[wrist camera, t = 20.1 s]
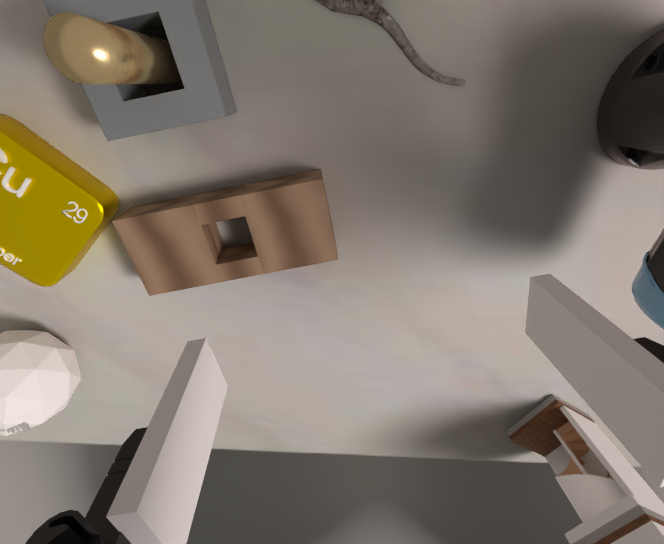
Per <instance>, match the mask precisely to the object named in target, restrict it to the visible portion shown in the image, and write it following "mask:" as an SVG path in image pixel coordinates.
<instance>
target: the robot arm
mask: <svg viewBox="0 0 664 544" xmlns="http://www.w3.org/2000/svg"><path fill="white" fill-rule="evenodd" d="M598 135H599V139H600V142H601V145H602V147H603V149H604V150H605V152H606V153H607V154H608V155H609V156H610V157H611V158H612V159H613V160H615V161H616V162H618V163H621V164H623V165H627V166H631V167H635V168H639V169H649V170H655V169H664V30H663V31H661V32H659V33H657V34H655V35H654V36H652V37H651V38H649V39H648V40H646V41H645V42H644V43H642V44H641V45H640V46H639V47H637V48H636V49H635V50H634V51H633V52H632V53H631V54H630V55H629V56H628V57H627V58H626V60H625V61H624V62H623V63H622V64H621V66H620V67H619V68H618V70H617V71H616V73H615V74H614V76H613V77H612V79H611V81H610V82H609V84H608V86H607V88H606V91H605V93H604V96H603V98H602V101H601V105H600V109H599V114H598ZM632 293H633V295H634V299H635V301H636V303H637V304H638V306H639V307H640V309H641V310H642V311H643V312H644V313H645V314H646V315H647V316H648V317H649V318H650V319H651V320H653V321H654V322H655V323H656V324H657V325H659V326H660V327H661V328H663V329H664V229H663V231H662V232H661V234H660V235H659V237H658V239H657V240H656V242H655V243H654V245H653V247H652V248H651V250H650V251H648V252H647V253H646V254H645V256H644V258H643V264H642V266H641V268H640V270H639V272H638V274H637V275H636V277H635V279H634V281H633V284H632ZM525 333H526V334H527V335H528V336H529V337H530V338H531V340H532V341H533V342H534V343H535V344H536V345H537V347H538V348H539V349H540V350H541V351H542V352H543V353H544V355H545V356H546V357H547V358H548V359H549V360H550V361H551V363H552V364H553V365H554V366H555V367H556V368H557V369H558V371H559V372H560V373H561V374H562V375H563V376H564V378H565V379H566V380H567V381H568V382H569V383H570V384H571V386H572V387H573V388H574V389H575V390H576V391H577V392H578V394H579V395H580V396H581V397H582V398H583V399H584V400H585V402H586V403H587V404H588V405H589V406H590V407H591V409H592V410H593V411H594V412H595V413H596V414H597V415H598V417H599V418H600V419H601V420H602V421H603V422H604V423H605V425H606V426H607V427H608V428H609V429H610V430H611V431H612V433H613V434H614V435H615V436H616V437H617V438H618V440H619V441H620V442H621V443H622V444H623V445H624V446H625V448H626V449H627V450H628V451H629V452H630V453H631V454H632V456H633V457H634V458H635V459H636V460H637V461H638V462H639V464H640V465H641V466H642V467H643V468H644V469H645V471H646V472H647V473H648V474H649V475H650V476H651V477H652V478H653V480H654V481H655V482H656V483H657V484H658V485H659V487H663V486H664V346H663V345H661V344H659V343H656V342H654V341H652V340H650V339H647V338H645V337H643V338H637V339H632V338H631V337H630V336H628V335H627V334H626V333H625V332H623V331H622V330H621V329H619V328H618V327H617V326H616V325H614V324H613V323H612V322H611V321H609V320H608V319H607V318H606V317H604V316H603V315H602V314H600V313H599V312H598V311H597V310H595V309H594V308H593V307H592V306H590V305H589V304H588V303H586V302H585V301H584V300H583V299H581V298H580V297H579V296H578V295H576V294H575V293H574V292H573V291H571V290H570V289H569V288H567V287H566V286H565V285H564V284H562V283H561V282H560V281H559V280H557V279H556V278H555V277H553V276H552V275H551V274H546V275H541V276H535V277H530V287H529V298H528V309H527V320H526V331H525ZM227 388H228V386H227V384H226V382H225V379H224V377H223V375H222V373H221V370H220V368H219V366H218V364H217V361H216V359H215V357H214V355H213V352H212V350H211V348H210V346H209V343H208V341H207V339H206V338H204V339H198V340H193V341H188V342H187V344H186V346H185V349H184V351H183V353H182V355H181V357H180V359H179V361H178V364H177V366H176V368H175V370H174V372H173V374H172V376H171V379H170V381H169V383H168V385H167V387H166V389H165V391H164V394H163V396H162V398H161V400H160V402H159V404H158V406H157V409H156V411H155V413H154V415H153V417H152V419H151V421H150V424H149V426H148V427H146V428H141V429H136V430H135V431H134V432H133V433H132V434H131V435H130V437H129V438H128V439H127V440H126V441H125V442H124V443H123V445H122V447H121V449H120V451H119V453H118V455H117V456H116V458H115V463H113V465H112V466H111V468H110V470H109V472H108V476H107V477H106V478H105V480H104V482H103V484H102V486H101V488H100V490H99V492H98V493H97V495H96V497H95V499H94V501H93V503H92V505H91V507H90V509H89V511H88V513H87V515H86V517H85V518H84V517H83V516H82V515H81V514H80V513H79V512H78V511H74V510H69V511H65V512H61V513H59V514H57V515H55V516H54V517H52V518H50V519H49V520H47V521H46V522H45V523H44V524H43V525H42V526H40V527H39V528H38V529H37V530H36V531H35V532H34V533H33V535H32V536H31V537H30V538H29V540H28V541H27V542H26V544H186V542H187V539H188V535H189V531H190V527H191V523H192V520H193V516H194V512H195V508H196V505H197V501H198V497H199V493H200V490H201V485H202V482H203V478H204V475H205V471H206V467H207V463H208V459H209V456H210V451H211V448H212V444H213V441H214V437H215V433H216V429H217V425H218V422H219V418H220V414H221V410H222V407H223V403H224V399H225V395H226V391H227Z"/></svg>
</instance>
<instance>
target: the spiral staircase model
mask: <svg viewBox="0 0 664 544" xmlns="http://www.w3.org/2000/svg"><path fill="white" fill-rule="evenodd" d="M506 432H507V434H508V436H509V437H510V439H511V441H513V442H515V443H517V444H519V445H521V446H524V447H526V448H528V449H530V450H532V451H534V452H536V453H538V454H540V455H542V456H544V457H545V458H546V459H547V461H548V462H549V464H550V466H551V467H552V469H553V470H554V472H555V473H556V475H557V476H556V477H555V478H556V480H557V481H558V483H559V484H560V486H561V487H562V489H563V491H564V492H565V494H566V495H567V497H568V499H569V500H570V502H571V504H572V505H573V507H574V508H575V510H576V512H577V513H578V515H579V516H580V518H581V519H582V521H583V522H584V523H582V524H580V525H579V526H577V527H576V528H574V529H572V530H571V531H569V532H568V533H566V534H565V536H566V538H567V539H568V541H569V543H570V544H664V504H663V503H662V502H661V500H660V499H659V498H658V497H657V496H656V494H655V493H654V492H653V491H652V490H651V488H650V487H649V486H648V485H647V484H646V483H645V481H644V480H643V479H642V478H641V477H640V475H639V474H638V473H637V472H636V471H635V470H634V468H633V467H632V466H631V465H630V464H629V462H628V461H627V460H626V459H625V458H624V456H623V455H622V454H621V453H620V452H619V451H618V449H617V448H616V447H615V446H614V445H613V443H612V442H611V441H610V440H609V439H608V438H607V436H606V435H605V434H604V433H603V432H602V430H601V429H600V428H599V427H598V426H597V425H596V423H595V422H594V421H593V420H592V419H591V417H590V416H589V415H588V414H586V413H585V412H583V411H581V410H579V409H578V408H576V407H574V406H572V405H571V404H569V403H567V402H565V401H564V400H562V399H560V398H558V397H557V396H555V395H553V394H551V395H550V396H549V397H548V398H546V399H545V400H544V401H543V402H542V403H540V404H539V405H538V406H537V407H535V408H534V409H533V410H532V411H530V412H529V413H528V414H527V415H525V416H524V417H523V418H522V419H520V420H519V421H518V422H517V423H515V424H514V425H513V426H512V427H510V428H509V429H508V430H507V431H506Z"/></svg>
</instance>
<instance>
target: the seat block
mask: <svg viewBox="0 0 664 544" xmlns="http://www.w3.org/2000/svg"><path fill="white" fill-rule="evenodd" d="M43 1H44V4H45V6H46V8H47V10H48V12H49V15H50V17H53V16H54V15H56V14H59V13H63V12H69V13H75V14H78V15H81V16H85V17H88V18H91V19H95V20H98V21H101V22H105V23H108V24H111V25H115V26H118V27H121V28H125V29H128V30H131V31H135V32H136V31H141V30H146V29H150V28H155V27H159V26H164V29H165V32H166V35H167V38H168V41H169V44H170V47H171V50H172V53H173V56H174V58H175V61H176V64H177V67H178V70H179V73H180V76H181V79H182V82H183V85H184V88H185V89H181V90H176V91H171V92H166V93H162V94H157V95H152V96H147V95H146V92H145V90H144V87H143V84H82V86H83V89H84V91H85V93H86V95H87V97H88V99H89V102H90V104H91V106H92V108H93V110H94V113H95V115H96V117H97V119H98V121H99V123H100V126H101V128H102V130H103V132H104V134H105V136H106V139H107V141H110V140H115V139H120V138H125V137H129V136H134V135H139V134H144V133H149V132H154V131H158V130H163V129H168V128H173V127H178V126H182V125H187V124H192V123H197V122H202V121H206V120H211V119H216V118H221V117H226V116H228V115H231V114H233V113H236V112H237V110H236V107H235V103H234V100H233V96H232V93H231V89H230V86H229V82H228V79H227V75H226V72H225V68H224V65H223V61H222V58H221V54H220V51H219V47H218V44H217V40H216V37H215V33H214V30H213V26H212V23H211V19H210V16H209V12H208V9H207V5H206V1H205V0H43Z"/></svg>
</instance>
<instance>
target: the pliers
mask: <svg viewBox="0 0 664 544" xmlns="http://www.w3.org/2000/svg"><path fill="white" fill-rule="evenodd" d="M317 1H319V2H320V3H322V4H323V5H324V6H326V7H327V8H329V9H330V10H331V11H334V12H340V13H347V14H353V15H359V16H364V17H366V18H368V19H370V20H372V21H374V22H376V23H378V24H379V25H381V26H382V27H384V28H385V29H386V31H387V32H388V33H389V34H390V35H391V36H392V37H393V38H394V40H395V41H396V42H397V43H398V45H399V46H400V47H401V49H402V50H403V51H404V53H405V54H406V55H407V57H408V58H409V59H410V61H411V62H412V63H413V64H414V65H415V66H416V67H417V68H418V69H419V70H420V71H422V72H423V73H424V74H426V75H427V76H429V77H431V78H433V79H435V80H437V81H440V82H443V83H446V84H450V85H464V84H465V81H464V80H460V79H454V78H450V77H446V76H443V75H441V74H439V73H437V72H435V71H434V70H432V69H431V68H429V67H428V66H427V65H426V64H425V63H424V62H423V61H422V60H421V59H420V57H419V56H418V55H417V53H416V52H415V50H414V49H413V47H412V46H411V44H410V43H409V41H408V40H407V38H406V36H405V35H404V33H403V31H402V30H401V28H400V27H399V25H398V24H397V23H396V22H395V20H394V19H393V18H392V17H391V16H390V15H389V14H388V13H387V12H386V11H385V10H384V8H382V6H381V5H380V4H381V0H317Z"/></svg>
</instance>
